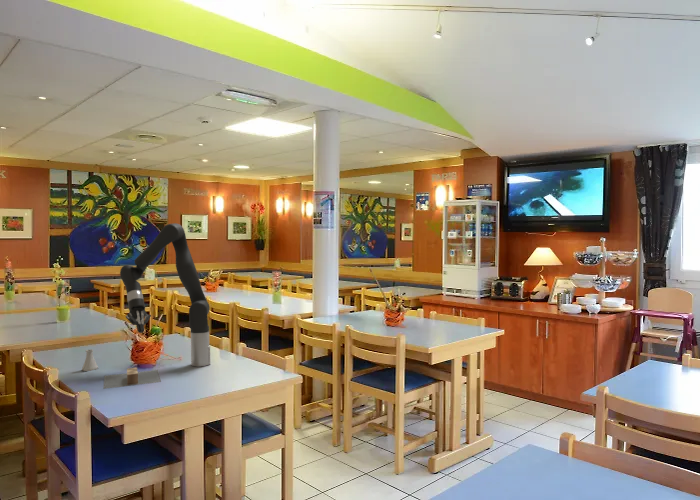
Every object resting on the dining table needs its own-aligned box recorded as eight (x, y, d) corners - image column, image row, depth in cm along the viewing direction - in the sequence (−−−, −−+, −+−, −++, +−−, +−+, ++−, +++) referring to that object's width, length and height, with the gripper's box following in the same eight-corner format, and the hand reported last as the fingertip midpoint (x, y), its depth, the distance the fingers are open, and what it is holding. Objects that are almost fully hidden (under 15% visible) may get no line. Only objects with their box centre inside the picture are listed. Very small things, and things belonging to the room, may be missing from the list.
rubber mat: (157, 370, 255) (157, 369, 255) (161, 382, 235) (161, 381, 235) (104, 376, 245) (104, 375, 245) (103, 389, 225) (103, 388, 225)
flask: (91, 372, 254) (90, 352, 253) (78, 371, 255) (78, 351, 255) (101, 368, 261) (100, 348, 260) (88, 367, 262) (88, 348, 262)
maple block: (137, 367, 244) (137, 373, 233) (137, 376, 244) (138, 383, 233) (126, 368, 242) (127, 375, 231) (127, 377, 242) (127, 384, 231)
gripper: (127, 296, 253) (132, 328, 246) (151, 298, 263) (157, 329, 256) (119, 303, 256) (124, 335, 249) (144, 305, 267) (149, 335, 260)
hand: (141, 332), depth 253 cm, fingers closed
